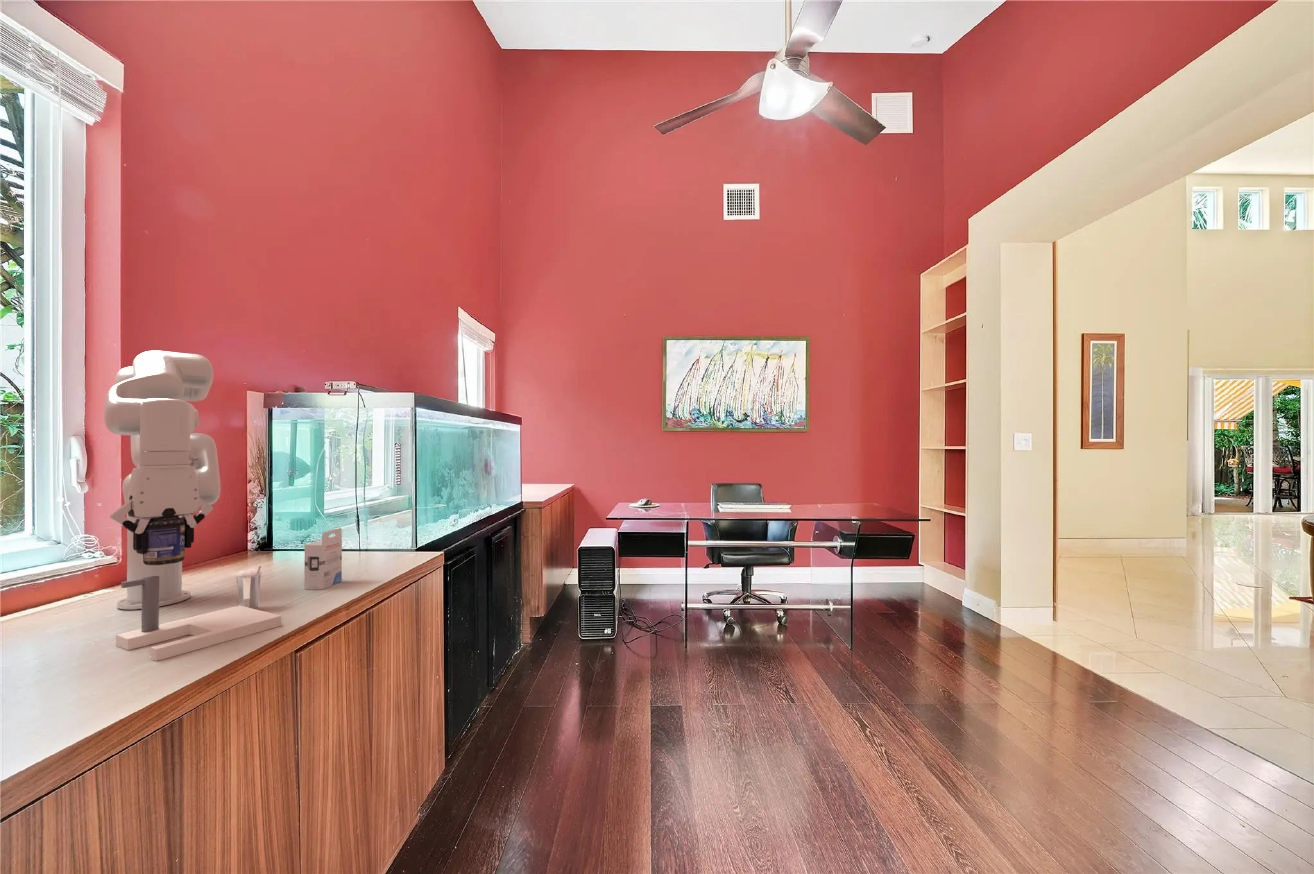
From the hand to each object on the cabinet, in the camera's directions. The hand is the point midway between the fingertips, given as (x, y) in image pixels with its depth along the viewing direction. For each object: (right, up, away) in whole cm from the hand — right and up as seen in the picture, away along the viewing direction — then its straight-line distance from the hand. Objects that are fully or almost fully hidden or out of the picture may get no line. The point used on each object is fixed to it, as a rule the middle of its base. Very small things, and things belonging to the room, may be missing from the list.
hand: (164, 549), depth 106 cm
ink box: (+10, -17, +35) cm, 40 cm away
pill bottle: (0, -3, 0) cm, 3 cm away
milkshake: (+6, -17, +14) cm, 23 cm away
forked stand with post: (+9, -16, -2) cm, 19 cm away
